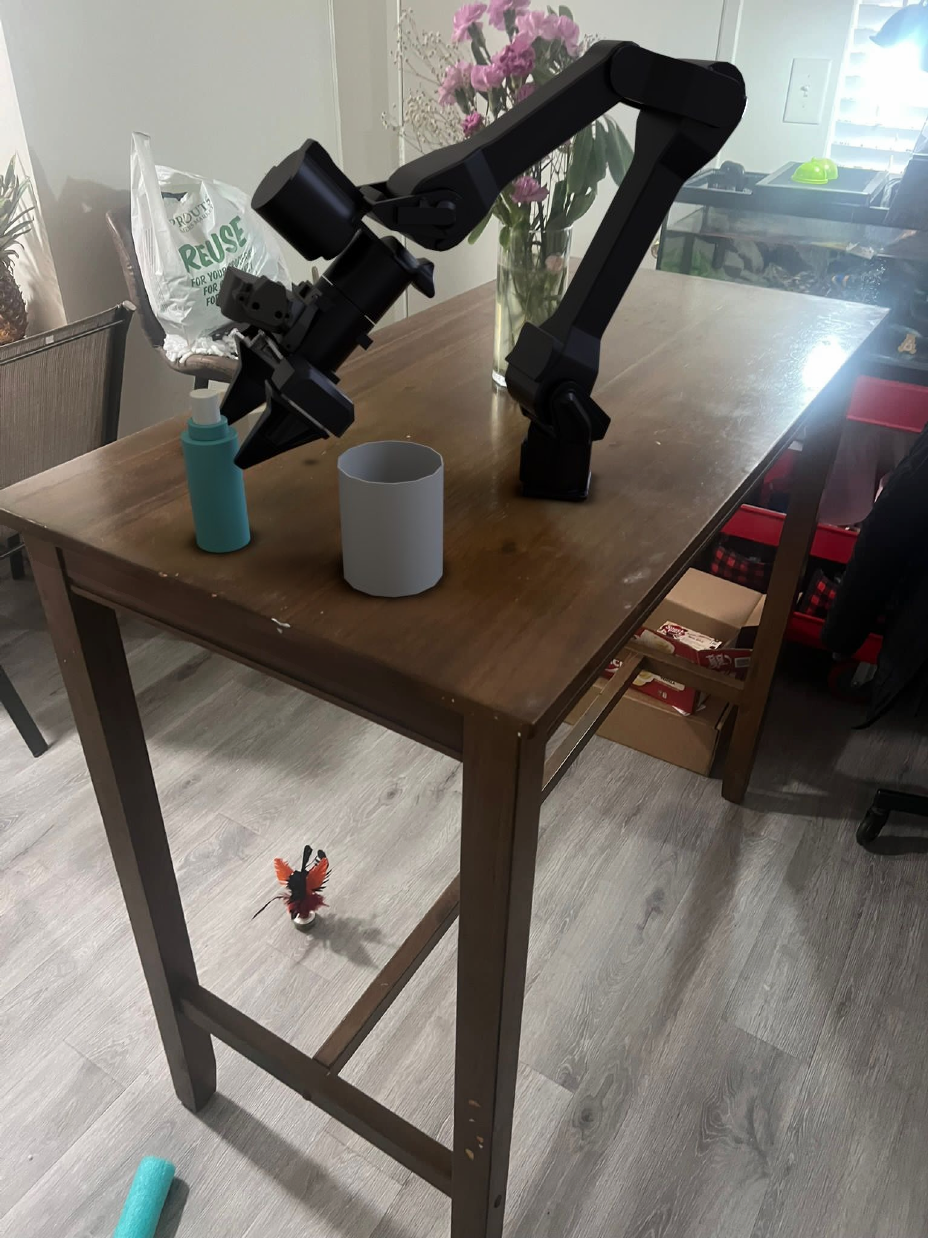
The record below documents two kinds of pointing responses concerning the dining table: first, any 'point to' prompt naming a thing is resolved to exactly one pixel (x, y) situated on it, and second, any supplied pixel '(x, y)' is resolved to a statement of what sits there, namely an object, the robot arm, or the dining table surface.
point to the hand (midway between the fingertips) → (227, 444)
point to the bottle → (214, 476)
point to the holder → (243, 419)
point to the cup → (391, 517)
